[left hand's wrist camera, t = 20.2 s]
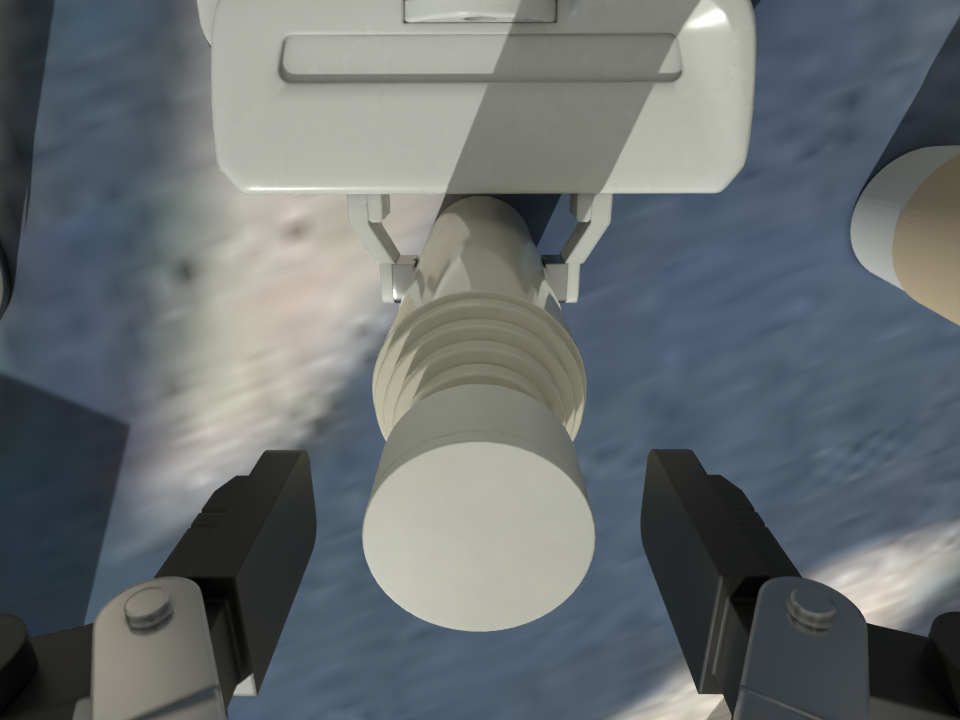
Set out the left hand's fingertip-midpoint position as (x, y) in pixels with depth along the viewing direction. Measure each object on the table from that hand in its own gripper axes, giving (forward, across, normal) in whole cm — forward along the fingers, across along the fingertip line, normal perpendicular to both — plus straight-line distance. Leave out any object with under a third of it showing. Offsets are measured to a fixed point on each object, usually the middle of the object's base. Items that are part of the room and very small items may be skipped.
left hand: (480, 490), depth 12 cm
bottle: (+22, 0, 0) cm, 22 cm away
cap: (-1, 0, 0) cm, 1 cm away
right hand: (+16, 0, -1) cm, 16 cm away
